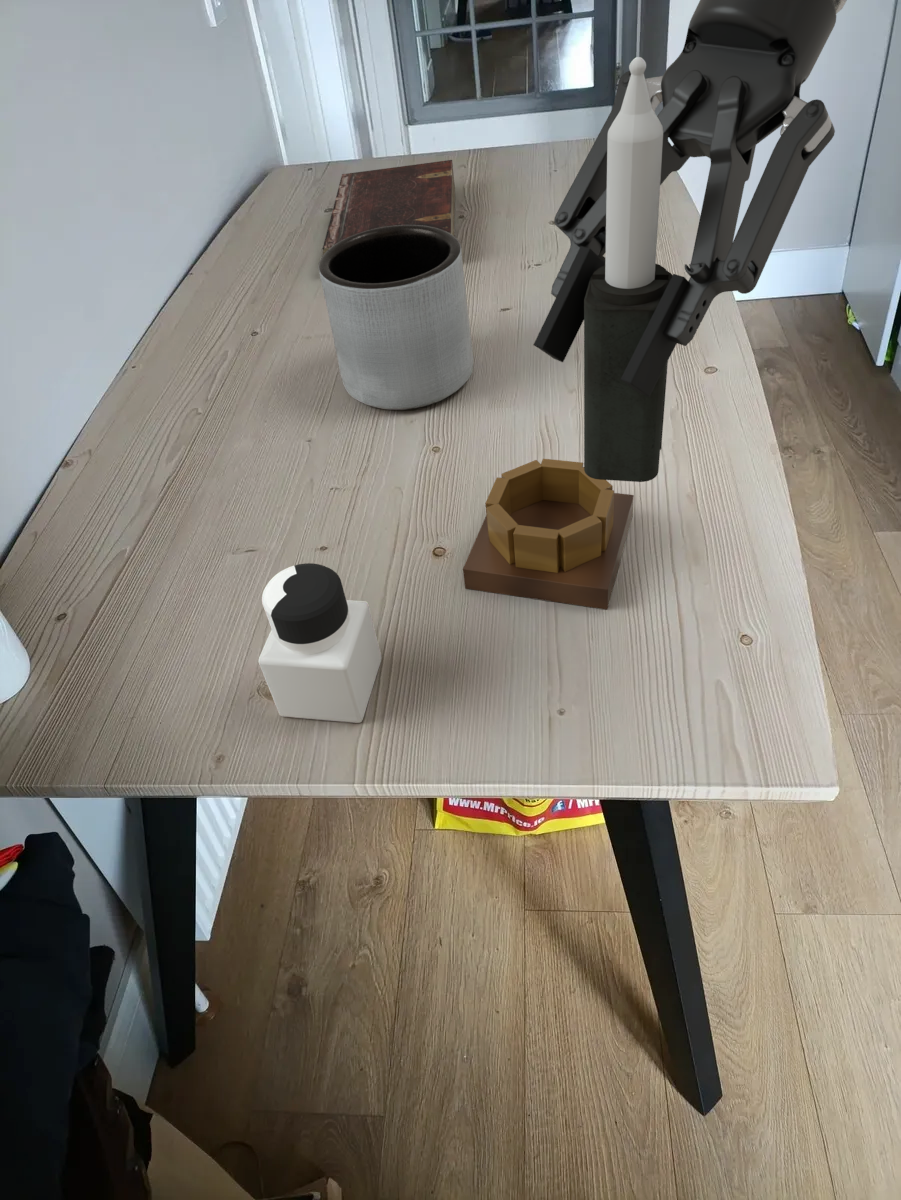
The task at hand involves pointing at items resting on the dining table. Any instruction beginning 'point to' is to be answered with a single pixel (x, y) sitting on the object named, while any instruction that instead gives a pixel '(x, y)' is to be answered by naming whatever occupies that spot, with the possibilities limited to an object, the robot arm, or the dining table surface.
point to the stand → (551, 536)
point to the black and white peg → (625, 299)
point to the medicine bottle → (318, 646)
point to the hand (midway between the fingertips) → (590, 369)
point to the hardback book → (393, 200)
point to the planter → (398, 315)
